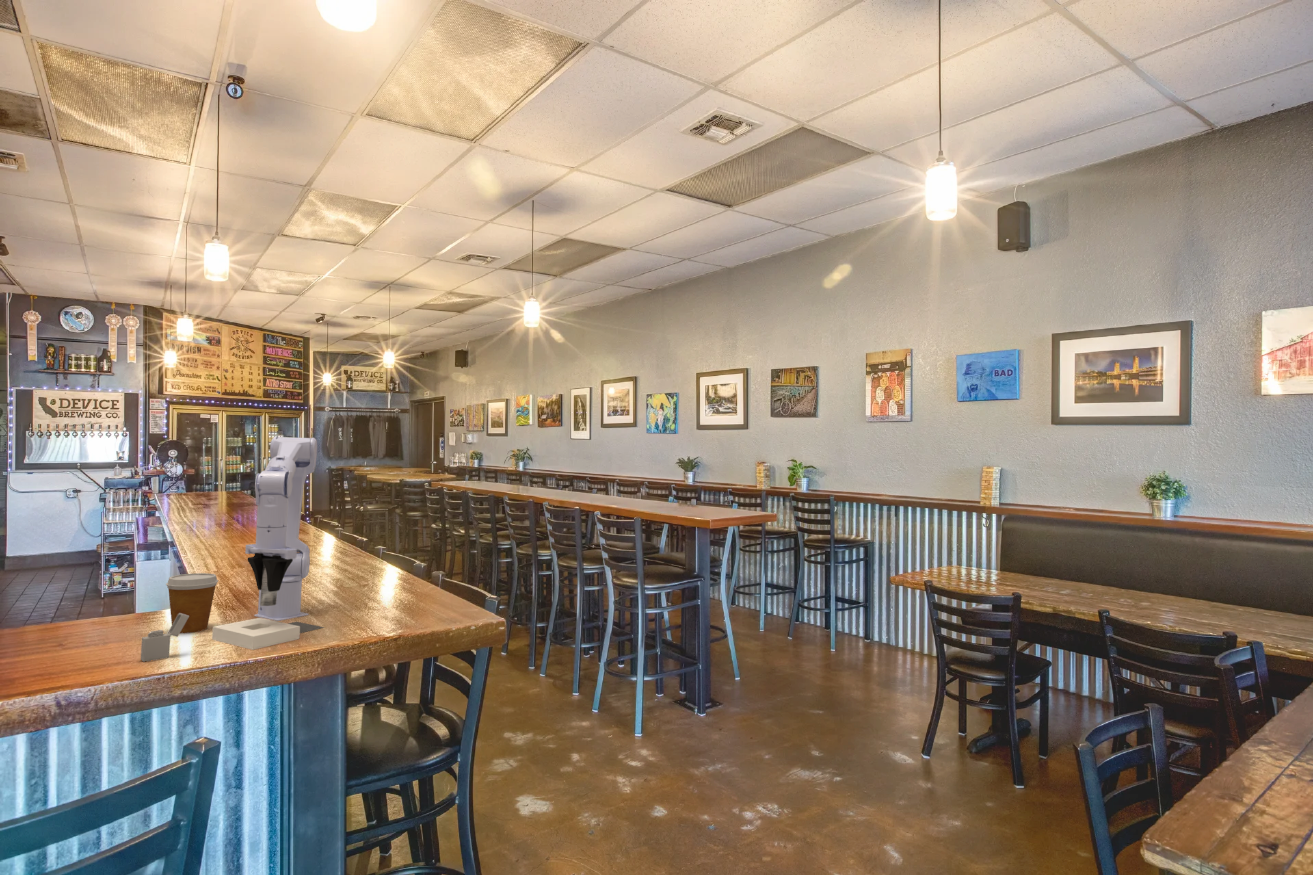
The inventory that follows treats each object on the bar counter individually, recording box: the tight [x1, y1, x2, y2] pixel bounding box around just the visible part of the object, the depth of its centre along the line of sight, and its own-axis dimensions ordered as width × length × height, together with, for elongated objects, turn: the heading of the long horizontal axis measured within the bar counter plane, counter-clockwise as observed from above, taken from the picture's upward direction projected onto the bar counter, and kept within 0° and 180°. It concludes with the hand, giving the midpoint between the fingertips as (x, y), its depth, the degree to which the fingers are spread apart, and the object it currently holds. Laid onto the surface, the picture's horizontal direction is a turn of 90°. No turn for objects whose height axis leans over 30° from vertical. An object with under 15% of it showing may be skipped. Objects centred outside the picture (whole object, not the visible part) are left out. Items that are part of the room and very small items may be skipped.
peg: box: [260, 563, 277, 606], centre depth 145 cm, size 3×3×9 cm
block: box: [211, 617, 301, 651], centre depth 142 cm, size 14×10×3 cm
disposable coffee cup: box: [165, 572, 219, 634], centre depth 148 cm, size 10×10×12 cm
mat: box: [287, 621, 326, 634], centre depth 152 cm, size 10×8×1 cm
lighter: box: [140, 613, 189, 663], centre depth 129 cm, size 7×2×8 cm, turn 144°
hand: (268, 590), depth 144 cm, fingers closed on peg, 3 cm apart
